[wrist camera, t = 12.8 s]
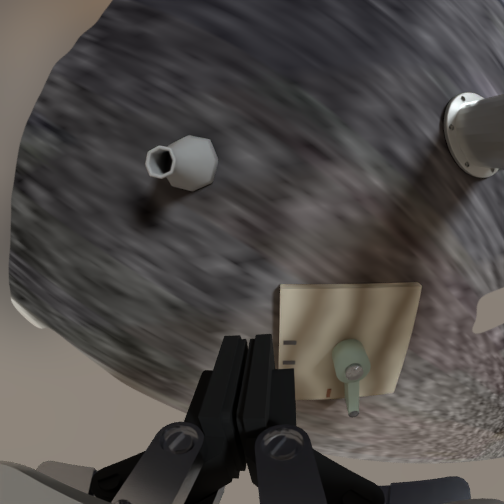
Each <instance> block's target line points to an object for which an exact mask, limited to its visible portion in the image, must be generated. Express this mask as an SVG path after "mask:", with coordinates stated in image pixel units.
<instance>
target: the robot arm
mask: <svg viewBox="0 0 504 504" xmlns="http://www.w3.org/2000/svg"><path fill="white" fill-rule="evenodd" d="M444 133H445V139H446V142H447V145H448V148H449V150H450V153H451V155H452V156H453V158H454V160H455V162H456V163H457V164H458V165H459V167H460V168H461V169H463V170H464V171H465V172H466V173H468V174H469V175H471V176H474V177H479V178H487V177H490V176H492V175H494V174H495V173H496V172H497V171H498V170H499V169H504V94H502V95H498V96H493V97H489V98H485V99H484V98H483V97H481V96H479V95H477V94H475V93H470V92H467V93H461V94H458V95H457V96H455V97H453V98H452V99H451V100H450V102H449V104H448V105H447V107H446V111H445V115H444ZM246 463H247V465H248V469H249V473H250V476H251V480H252V482H253V483H254V484H255V485H256V486H257V487H258V490H259V499H260V504H504V502H503V501H500V500H496V499H483V498H482V499H471V496H470V488H469V485H468V483H467V482H466V481H465V480H464V479H463V478H460V477H457V476H456V477H445V478H438V479H430V480H422V481H412V482H402V483H401V482H400V483H391V484H390V486H377V485H376V484H375V483H373V482H371V481H369V480H367V479H365V478H363V477H361V476H359V475H358V474H356V473H354V472H352V471H350V470H348V469H347V468H345V467H343V466H341V465H339V464H338V463H336V462H334V461H332V460H331V459H329V458H327V457H326V456H324V455H322V454H321V453H319V452H317V451H316V450H314V449H312V445H311V442H310V438H309V436H308V435H307V433H306V432H305V431H304V430H303V429H301V428H299V427H297V426H296V403H295V377H294V368H289V369H275V363H274V353H273V342H272V335H271V334H262V335H256V337H255V339H250V343H249V348H248V346H247V341H246V339H241V336H240V335H239V336H224V339H223V342H222V345H221V348H220V351H219V354H218V357H217V360H216V363H215V366H214V369H213V371H210V370H205V371H203V373H202V375H201V377H200V380H199V383H198V385H197V388H196V391H195V393H194V396H193V399H192V401H191V404H190V407H189V410H188V412H187V415H186V418H185V420H184V422H175V423H171V424H169V425H167V426H165V427H163V428H162V429H161V430H160V431H159V432H158V433H157V434H156V436H155V437H154V439H153V440H152V442H151V444H150V445H149V446H148V448H147V450H146V451H144V452H142V453H139V454H137V455H135V456H132V457H130V458H128V459H125V460H123V461H120V462H118V463H115V464H112V465H110V466H107V467H105V468H103V469H101V470H99V471H96V470H95V468H91V467H84V466H77V465H71V464H65V463H60V462H55V461H46V462H43V463H42V464H40V465H39V466H38V468H37V469H36V470H35V469H32V468H30V467H27V466H24V465H21V464H17V463H13V462H7V461H0V504H219V503H220V500H221V498H222V495H223V493H224V488H225V485H227V484H229V483H230V482H232V478H239V472H240V471H245V469H246Z"/></svg>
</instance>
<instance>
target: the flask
mask: <svg viewBox="0 0 504 504" xmlns="http://www.w3.org/2000/svg"><path fill="white" fill-rule="evenodd" d="M218 161H219V160H218V158H217V155H216V153H215V150H214V148H213V145H212V143H211V141H210V139H205V138H200V137H195V136H190V135H188V136H186V137H184V138H182V139H180V140H178V141H176V142H174V143H172V144H170V145H169V146H168V147H164V146H158V147H156V148H154V149H152V150H150V151H148V153H147V158H146V162H145V166H146V168H147V171H148V173H149V176H151V177H155V178H160V179H163V178H165V177H166V178H167V179H168V181H169V182H170V184H171V186H173V187H177V188H181V189H185V190H189V191H195V190H197V189H199V188H202V187H204V186H206V185H208V184H211V183H213V180H214V176H215V172H216V168H217V165H218Z"/></svg>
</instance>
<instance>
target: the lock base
mask: <svg viewBox="0 0 504 504" xmlns="http://www.w3.org/2000/svg"><path fill="white" fill-rule="evenodd" d="M421 289H422V285H420V284H419V283H418V282H405V283H369V284H280V329H279V366H278V369H289V368H294V377H295V400H317V399H337V398H345V388H344V382H342V381H340V380H339V379H338V378H337V376H336V372H335V367H334V363H333V359H332V351H333V349H334V347H335V346H336V345H337V344H338V343H340V342H341V341H343V340H347V339H356V340H358V341H360V342H361V343H362V344H363V346H364V349H365V351H366V354H367V356H368V359H369V361H370V364H371V368H370V371H369V373H368V374H367V375H366V377H364V378H363V379H362V380H360V381H359V397H362V396H372V395H381V394H388V393H394V390H395V387H396V384H397V381H398V378H399V375H400V372H401V369H402V366H403V362H404V359H405V356H406V352H407V349H408V345H409V341H410V338H411V334H412V330H413V326H414V322H415V318H416V313H417V309H418V304H419V299H420V294H421Z"/></svg>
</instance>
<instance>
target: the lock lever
mask: <svg viewBox="0 0 504 504" xmlns="http://www.w3.org/2000/svg"><path fill="white" fill-rule="evenodd" d="M332 359H333V363H334V367H335V372H336V376H337V378H338V379H339V380H340V381H342V382H344V388H345V401H346V405H347V410H348V414H349V417H356V416H357V415H358V414H359V381H360V380H362V379H363V378H364V377H366V375H367V374H368V373H369V371H370V368H371V364H370V361H369V359H368V356H367V354H366V351H365V349H364V346H363V344H362V343H361V342H360V341H358V340H356V339H347V340H343V341H341V342H340V343H338V344H337V345H336V346H335V347H334V349H333V351H332Z"/></svg>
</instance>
